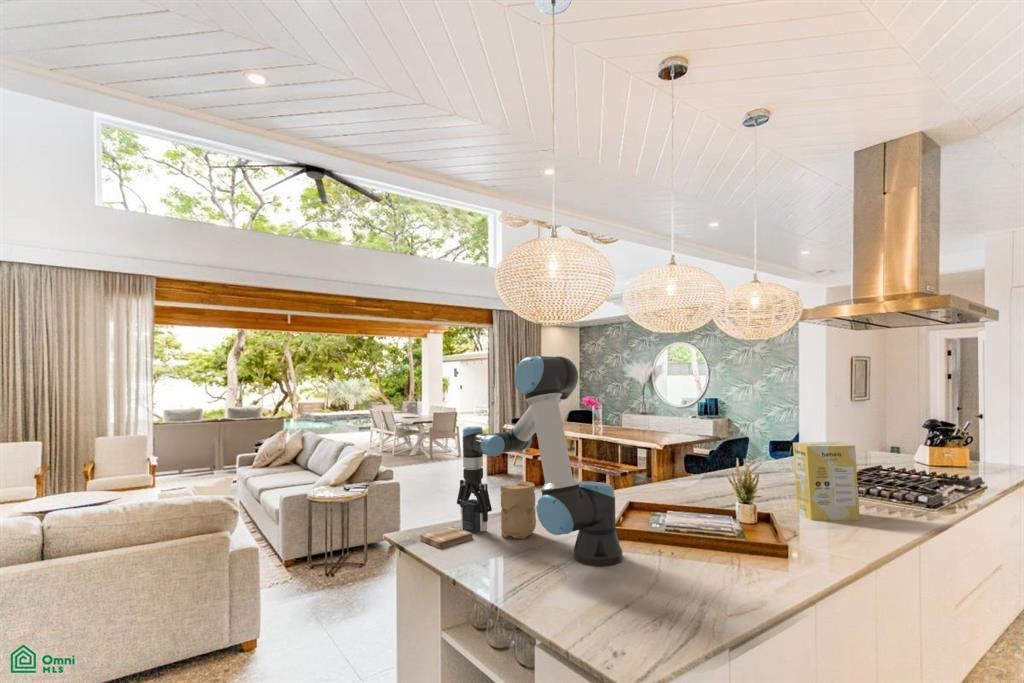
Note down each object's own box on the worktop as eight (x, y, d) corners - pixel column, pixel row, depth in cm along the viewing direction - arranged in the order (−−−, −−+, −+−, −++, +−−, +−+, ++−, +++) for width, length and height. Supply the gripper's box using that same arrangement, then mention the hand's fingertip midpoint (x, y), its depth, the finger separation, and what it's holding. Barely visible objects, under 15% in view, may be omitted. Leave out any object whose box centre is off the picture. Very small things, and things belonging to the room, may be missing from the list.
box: (486, 530, 188) (485, 501, 189) (473, 534, 184) (473, 504, 185) (474, 526, 194) (473, 498, 195) (462, 529, 190) (461, 500, 191)
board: (472, 539, 179) (472, 532, 179) (440, 548, 169) (439, 542, 169) (452, 531, 187) (452, 526, 188) (420, 540, 178) (420, 534, 178)
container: (494, 535, 182) (493, 485, 183) (519, 528, 190) (518, 479, 192) (517, 543, 173) (516, 490, 174) (543, 535, 181) (542, 484, 182)
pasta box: (842, 512, 203) (838, 441, 204) (859, 519, 192) (855, 445, 194) (796, 512, 203) (792, 442, 205) (811, 520, 193) (806, 446, 195)
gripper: (500, 470, 185) (502, 531, 183) (462, 463, 202) (463, 519, 200) (485, 473, 180) (486, 536, 178) (447, 465, 197) (447, 523, 195)
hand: (474, 527), depth 189 cm, fingers open, 11 cm apart
